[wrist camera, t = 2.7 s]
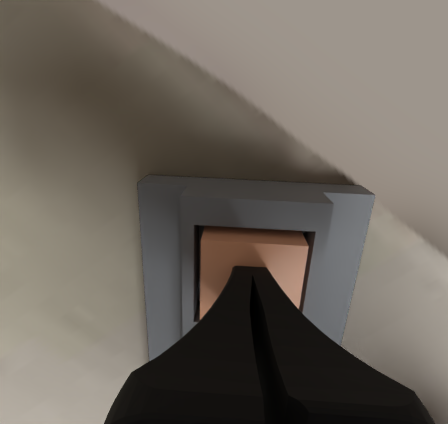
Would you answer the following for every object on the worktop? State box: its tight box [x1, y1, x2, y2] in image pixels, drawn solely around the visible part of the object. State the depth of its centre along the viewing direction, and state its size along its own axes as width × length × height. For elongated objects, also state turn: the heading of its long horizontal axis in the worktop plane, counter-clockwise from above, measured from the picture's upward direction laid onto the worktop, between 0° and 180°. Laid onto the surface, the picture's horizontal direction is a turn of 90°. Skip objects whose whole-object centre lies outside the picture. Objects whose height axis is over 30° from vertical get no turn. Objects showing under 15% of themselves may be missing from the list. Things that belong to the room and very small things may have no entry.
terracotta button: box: [200, 226, 309, 319], centre depth 12 cm, size 4×4×2 cm
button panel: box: [137, 175, 375, 361], centre depth 15 cm, size 18×10×3 cm, turn 178°
